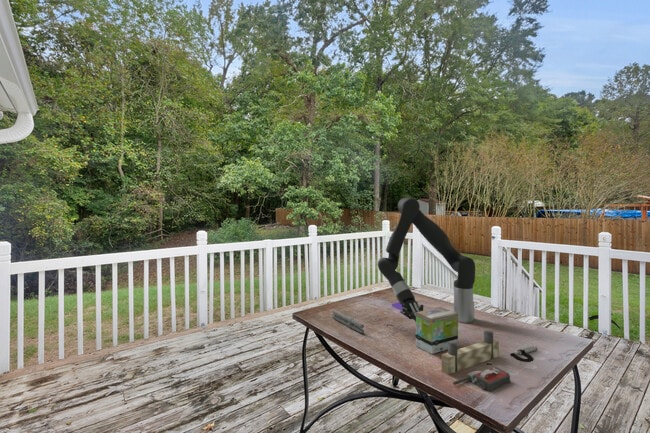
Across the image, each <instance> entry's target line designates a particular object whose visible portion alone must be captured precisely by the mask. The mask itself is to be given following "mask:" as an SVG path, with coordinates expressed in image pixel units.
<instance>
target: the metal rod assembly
mask: <svg viewBox="0 0 650 433" xmlns="http://www.w3.org/2000/svg"><path fill="white" fill-rule="evenodd" d="M332 314H333V315H332V318H333V319H334V320H335V321H338V322H340V323H342V324H344V325H345V326H347V327H348V328H349V329H351V330H352V329H353V330H355V331H357V332H358V333H360V334H362V335H363V334H364V333H365V329H364V327H365V325H364V324H363V323H361V322H359V321H357V320H355V319H354V318H353V317H350V316H348V315H346V314H345V313H344V314H343V313H342V312H340V311H338V310H336V309H333V310H332Z"/></svg>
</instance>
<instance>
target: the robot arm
mask: <svg viewBox="0 0 650 433" xmlns="http://www.w3.org/2000/svg"><path fill="white" fill-rule="evenodd" d="M420 207H421V206H420V202H419V201H418V200H417V199H416V198H413V197H404V198H401V199H400V200H399V201H398V203H397V209H398V212H399V213H400V217H399V220H398V222H397V225H396V226H395V228H394V229H393V232H392V233H391V236H390V238H388V242H387V245H386V249H385V251H386V253H387V254H388V257H381V258H379V259H378V261H377V268H378V270H379V271H380V273H381V274H382V276H383V277H384V278H385V279H386V280H387V281H388V283H389V285H390V286H391V288H392V291H393V293H394V295H395V297H396V299H397V301H398V302H399V303H400V304H401V305H402V310H399V312H400V313H401V315H403V316H405V317H406V318H408V319H409V320H413V321H414V322H415V323H416V312H420V311H424V305H423V304H419V303H418V301H416V299H415V295H414V294H413V292H412V290H411V289H410V287H409V285H408V283H407V282H406V281H405V279H404V277H403V275H402V274H401V273H400V272H399V271H397V268H398V266H399V262H400V252H401V250H402V248H403V245H404V242H405V239H406V236H407V234H408V232H409V231H410V228H411V226H412V224H413V225H414V226H415V228H416V230H418V232H419V233H420V234H421V235H422V237H424V239H425V240H426V241H427V242H428V243H429V244H430V246H432V247H433V248H434V249H435V250H436V251H437V252H438V253H439V254H440V255H441V256H442V257H443V258H444V259H445V261H446V262H447V264H448V265H449V267H451V269H452V270H453V271H454V272H456V273H457V279H455V280H454V281H453V312H456V313H458V323H465V324H466V323H467V324H469V323H473V322H474V321H475V301H474V284H475V281H476V262H475V261H474V259H473V258H471V257H469V256H465V255H463V254H461V253H460V252H459V251H458V250H457V249H455V247H454V246H453V245H452V243H451V241H450V238H449V236H448V235H447V234H446V232H445V231H444V230H443V229H442V228H441V227H440V226H439V225H438V224H437V223H436V222H434V221H433V220H432V219H430V218H429V217H428V216H426V215H425V214H424V212H422V211H421V209H420Z"/></svg>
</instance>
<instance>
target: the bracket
mask: <svg viewBox="0 0 650 433" xmlns="http://www.w3.org/2000/svg"><path fill="white" fill-rule="evenodd" d="M391 307H393V308H395V309H397V310H399V311H401V310H402V305H401V304H400V303H399V301H398V302H394V303H392V304H391Z"/></svg>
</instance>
